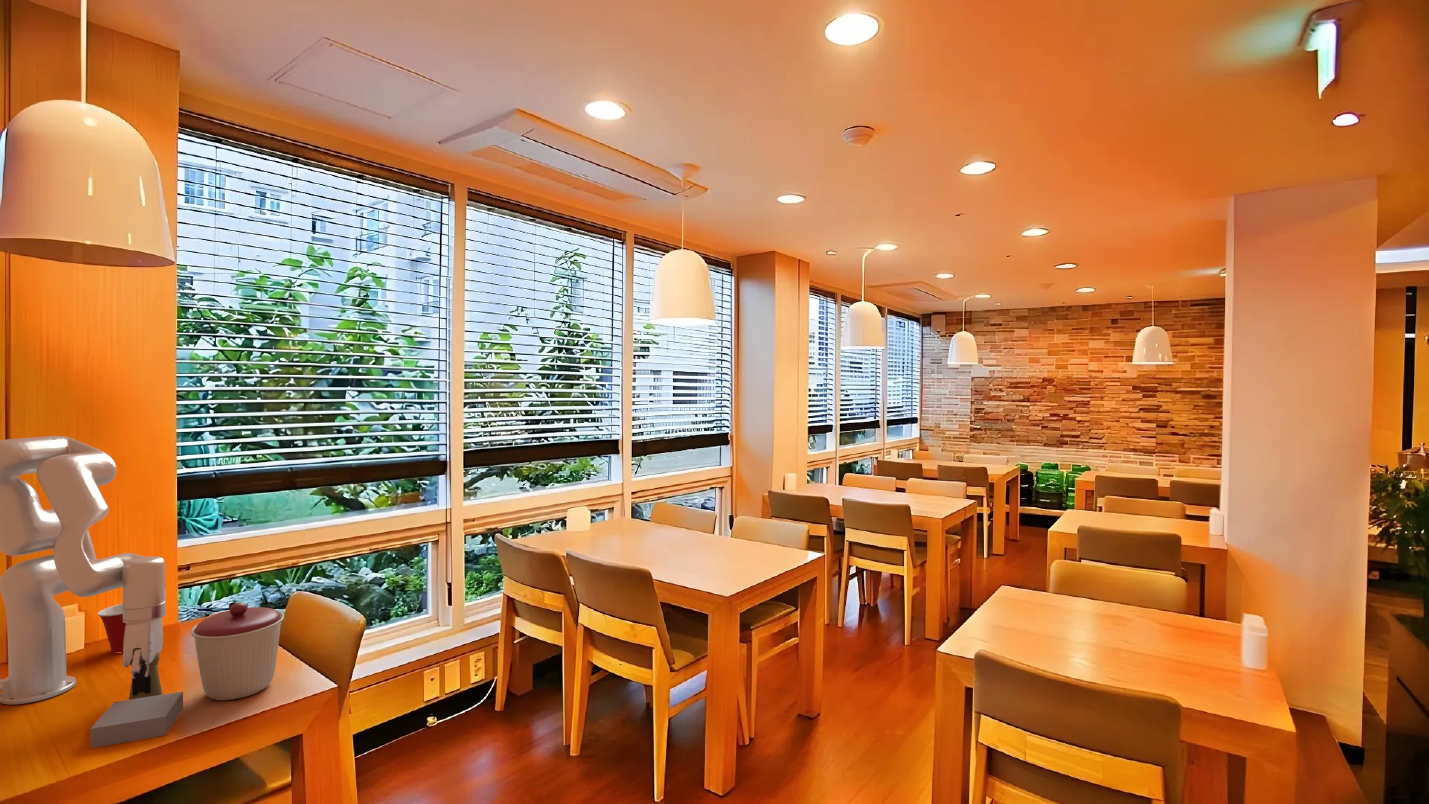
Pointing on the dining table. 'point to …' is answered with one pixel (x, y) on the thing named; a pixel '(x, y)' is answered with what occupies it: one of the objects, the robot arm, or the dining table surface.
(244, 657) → the canister
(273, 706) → the dining table surface
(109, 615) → the plastic cup
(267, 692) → the dining table surface
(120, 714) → the block
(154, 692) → the cork
